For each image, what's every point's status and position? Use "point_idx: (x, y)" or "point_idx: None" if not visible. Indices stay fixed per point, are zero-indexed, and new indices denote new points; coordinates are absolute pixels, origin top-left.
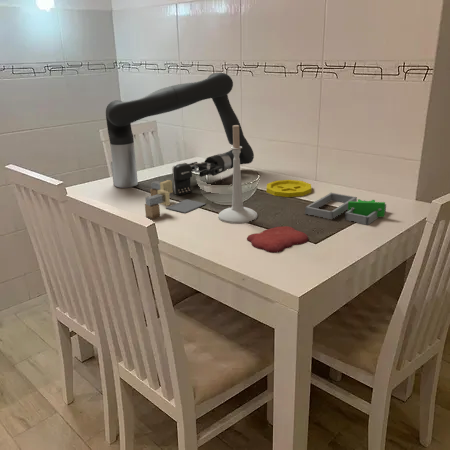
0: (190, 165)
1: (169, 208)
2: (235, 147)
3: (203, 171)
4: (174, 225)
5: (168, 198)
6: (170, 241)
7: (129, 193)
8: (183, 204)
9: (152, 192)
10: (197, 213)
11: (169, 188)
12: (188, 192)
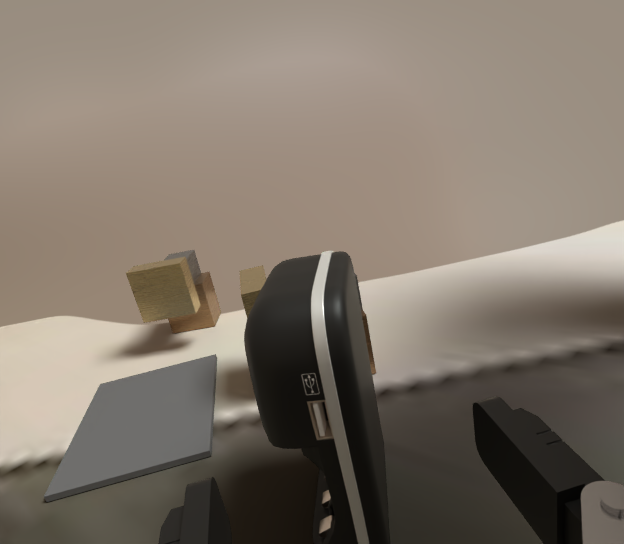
0: (607, 508)
1: (193, 360)
2: None
3: (185, 535)
4: (81, 344)
5: (137, 295)
6: (39, 321)
7: (544, 308)
8: (168, 409)
9: None
10: (44, 421)
11: None
12: (316, 520)
